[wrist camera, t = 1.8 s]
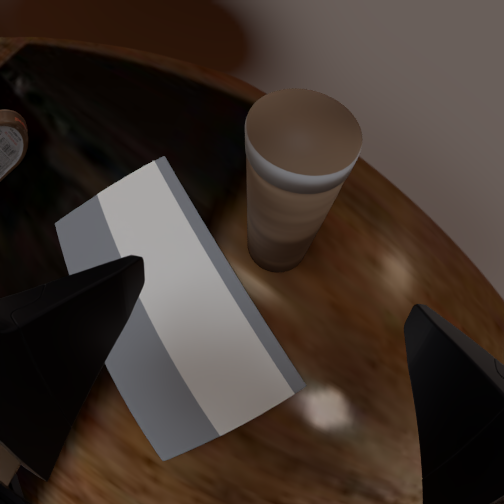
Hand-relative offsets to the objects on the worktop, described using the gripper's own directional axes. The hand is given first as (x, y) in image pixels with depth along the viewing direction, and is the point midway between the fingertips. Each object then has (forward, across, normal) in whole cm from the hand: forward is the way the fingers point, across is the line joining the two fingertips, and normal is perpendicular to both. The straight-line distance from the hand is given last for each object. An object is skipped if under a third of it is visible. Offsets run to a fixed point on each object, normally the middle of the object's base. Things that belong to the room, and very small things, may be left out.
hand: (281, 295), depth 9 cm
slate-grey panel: (+9, +8, +8) cm, 15 cm away
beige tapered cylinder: (+13, 0, +4) cm, 14 cm away
